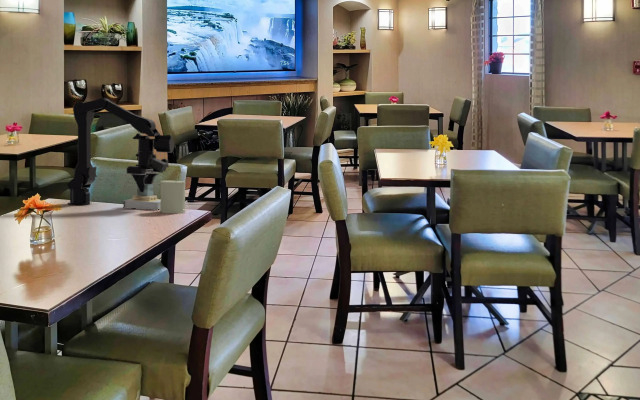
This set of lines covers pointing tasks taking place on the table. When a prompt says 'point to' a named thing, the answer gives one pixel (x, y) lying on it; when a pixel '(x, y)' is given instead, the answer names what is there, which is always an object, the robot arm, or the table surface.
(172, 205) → the can
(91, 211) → the table surface
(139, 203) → the dock
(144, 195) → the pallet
